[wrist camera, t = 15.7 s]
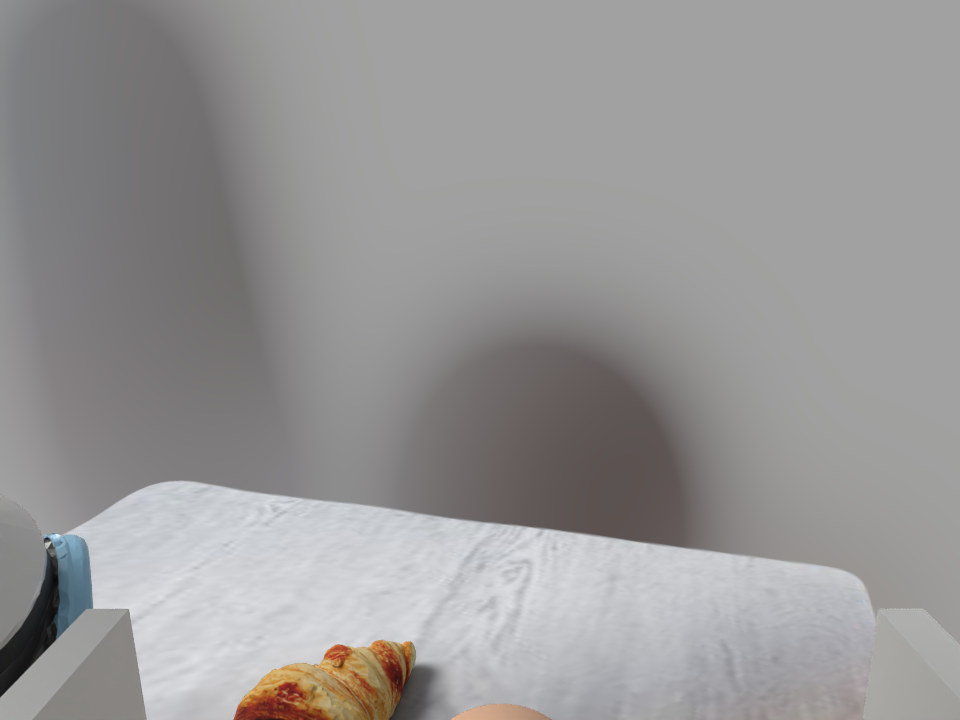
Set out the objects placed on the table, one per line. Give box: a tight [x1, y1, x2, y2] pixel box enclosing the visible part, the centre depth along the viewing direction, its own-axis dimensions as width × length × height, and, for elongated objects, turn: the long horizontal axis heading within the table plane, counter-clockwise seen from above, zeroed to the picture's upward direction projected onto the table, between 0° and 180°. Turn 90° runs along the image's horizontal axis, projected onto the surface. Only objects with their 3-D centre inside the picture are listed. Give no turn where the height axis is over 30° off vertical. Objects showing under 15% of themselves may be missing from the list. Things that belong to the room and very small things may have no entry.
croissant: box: [234, 640, 416, 720], centre depth 48 cm, size 21×10×8 cm, turn 148°
